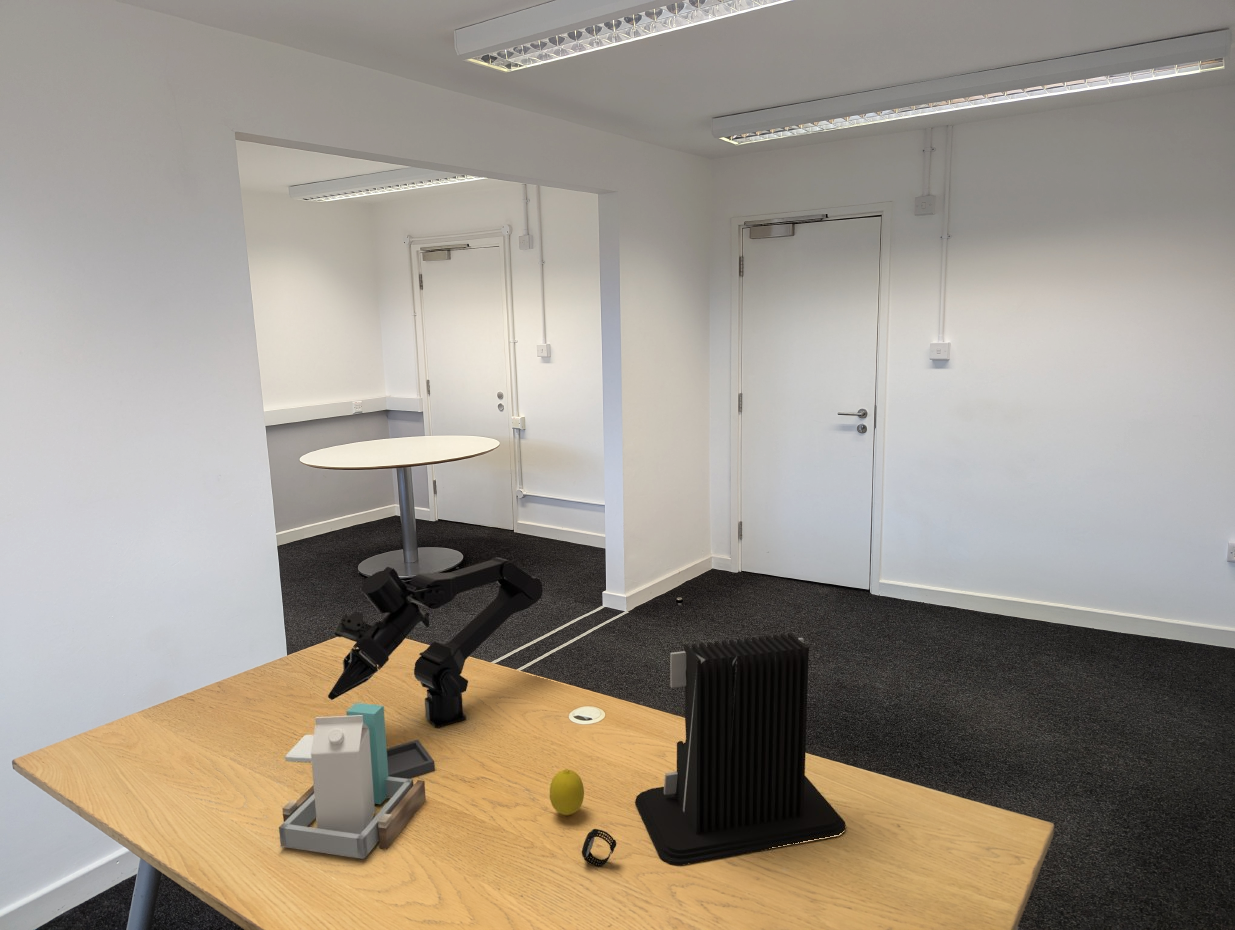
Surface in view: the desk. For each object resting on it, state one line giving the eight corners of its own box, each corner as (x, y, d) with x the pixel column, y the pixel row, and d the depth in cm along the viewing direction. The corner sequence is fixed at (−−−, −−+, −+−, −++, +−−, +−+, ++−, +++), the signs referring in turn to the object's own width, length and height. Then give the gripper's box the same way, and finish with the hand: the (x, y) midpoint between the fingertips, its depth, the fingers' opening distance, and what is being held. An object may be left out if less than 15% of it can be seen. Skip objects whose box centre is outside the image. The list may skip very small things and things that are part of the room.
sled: (338, 787, 137) (331, 700, 135) (414, 797, 134) (408, 708, 132) (280, 846, 122) (271, 749, 119) (364, 858, 119) (356, 759, 116)
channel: (331, 787, 138) (329, 763, 138) (425, 799, 135) (424, 775, 134) (284, 834, 126) (282, 808, 125) (387, 849, 122) (385, 822, 121)
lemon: (589, 808, 132) (588, 763, 130) (576, 828, 127) (575, 782, 125) (558, 802, 133) (557, 758, 132) (544, 821, 128) (543, 776, 127)
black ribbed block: (797, 771, 142) (802, 609, 137) (852, 835, 124) (861, 652, 119) (631, 797, 135) (629, 627, 130) (664, 869, 117) (663, 676, 112)
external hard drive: (306, 741, 155) (368, 743, 154) (285, 764, 147) (350, 766, 146) (306, 733, 155) (368, 735, 154) (284, 756, 147) (350, 758, 146)
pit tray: (418, 748, 151) (417, 739, 151) (434, 770, 143) (434, 761, 143) (370, 762, 146) (369, 753, 146) (384, 786, 139) (383, 776, 138)
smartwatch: (594, 850, 121) (593, 820, 120) (620, 864, 118) (619, 833, 117) (575, 864, 118) (574, 833, 117) (602, 879, 115) (601, 848, 114)
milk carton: (330, 815, 131) (321, 706, 127) (375, 813, 131) (367, 704, 128) (318, 843, 124) (308, 729, 120) (365, 840, 124) (357, 726, 121)
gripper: (354, 610, 158) (294, 672, 150) (367, 589, 142) (300, 658, 134) (397, 647, 159) (339, 711, 151) (414, 631, 143) (350, 702, 135)
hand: (331, 695), depth 142 cm, fingers open, 9 cm apart
